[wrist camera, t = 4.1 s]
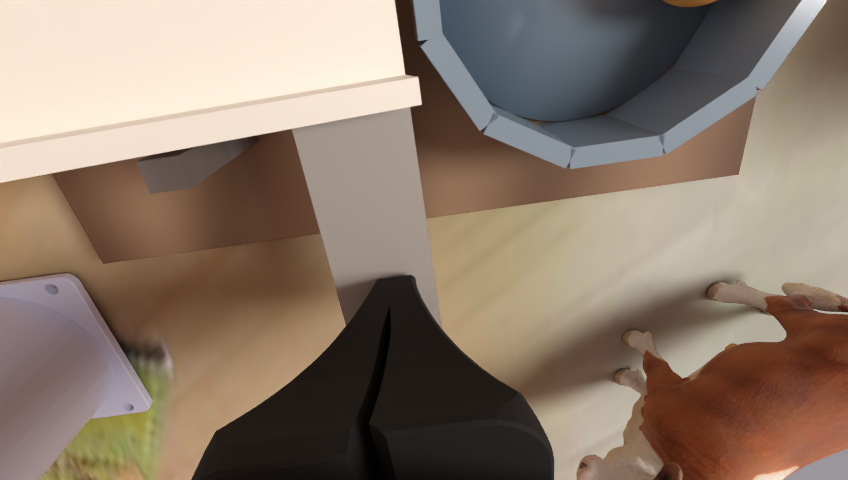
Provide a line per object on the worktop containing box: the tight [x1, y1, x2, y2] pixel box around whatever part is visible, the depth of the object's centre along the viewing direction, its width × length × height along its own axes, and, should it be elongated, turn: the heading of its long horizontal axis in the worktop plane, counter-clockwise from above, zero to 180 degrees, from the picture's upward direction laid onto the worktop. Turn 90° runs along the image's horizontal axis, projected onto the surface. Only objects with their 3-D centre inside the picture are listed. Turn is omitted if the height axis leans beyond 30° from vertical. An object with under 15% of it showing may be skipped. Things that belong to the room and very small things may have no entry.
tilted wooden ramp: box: [0, 0, 442, 328], centre depth 10 cm, size 12×13×3 cm
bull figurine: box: [577, 280, 848, 480], centre depth 17 cm, size 4×13×8 cm, turn 120°
